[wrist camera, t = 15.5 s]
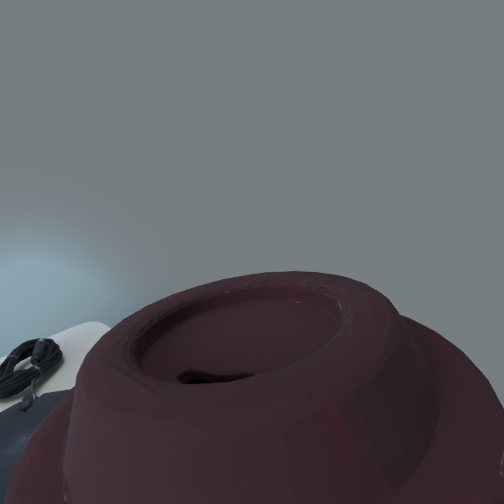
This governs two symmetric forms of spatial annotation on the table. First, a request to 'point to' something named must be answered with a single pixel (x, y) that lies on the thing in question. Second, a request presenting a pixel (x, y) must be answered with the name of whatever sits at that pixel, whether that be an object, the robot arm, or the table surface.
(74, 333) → the table surface
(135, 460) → the coffee cup
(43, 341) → the computer mouse
